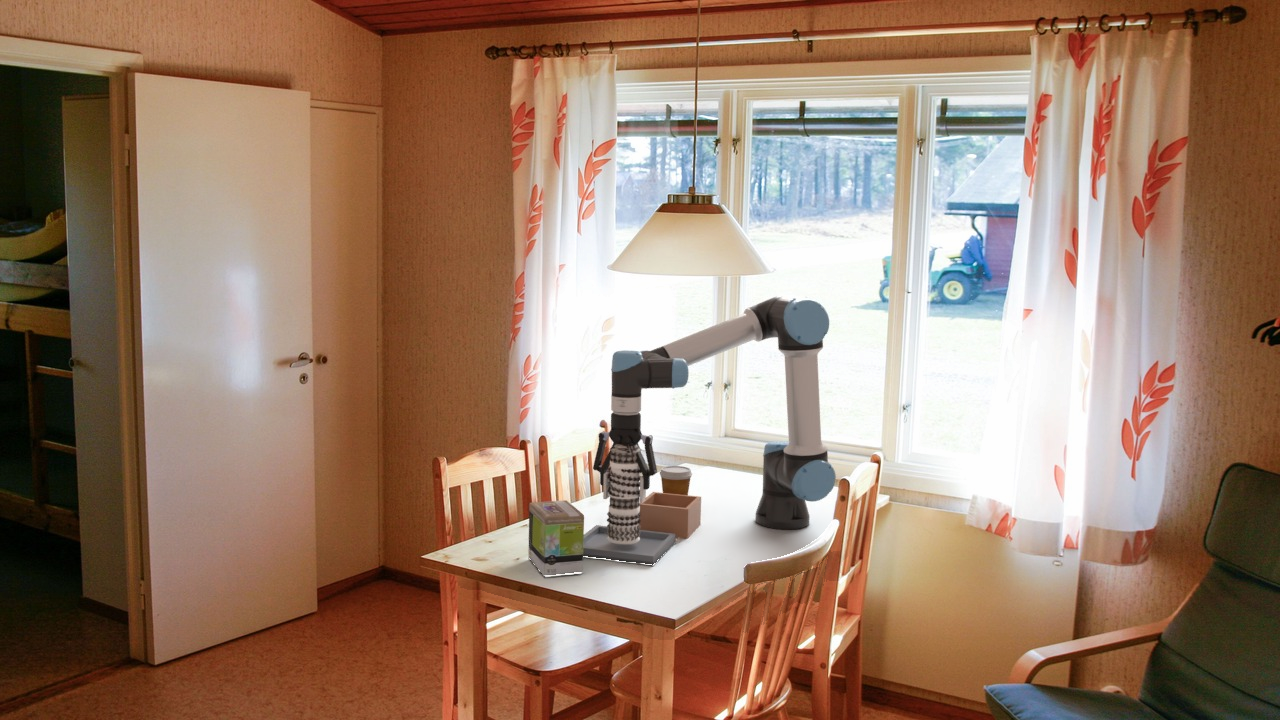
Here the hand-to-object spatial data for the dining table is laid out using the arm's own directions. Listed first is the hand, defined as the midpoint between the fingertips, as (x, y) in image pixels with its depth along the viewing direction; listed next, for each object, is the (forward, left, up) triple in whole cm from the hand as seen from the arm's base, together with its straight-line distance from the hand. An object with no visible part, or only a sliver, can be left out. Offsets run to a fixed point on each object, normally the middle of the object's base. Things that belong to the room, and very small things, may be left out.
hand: (624, 499), depth 264 cm
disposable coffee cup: (-2, -42, -13) cm, 44 cm away
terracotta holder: (-6, -22, -13) cm, 26 cm away
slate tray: (0, 0, -13) cm, 13 cm away
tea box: (+11, +19, -13) cm, 26 cm away
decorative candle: (0, 0, -11) cm, 11 cm away
